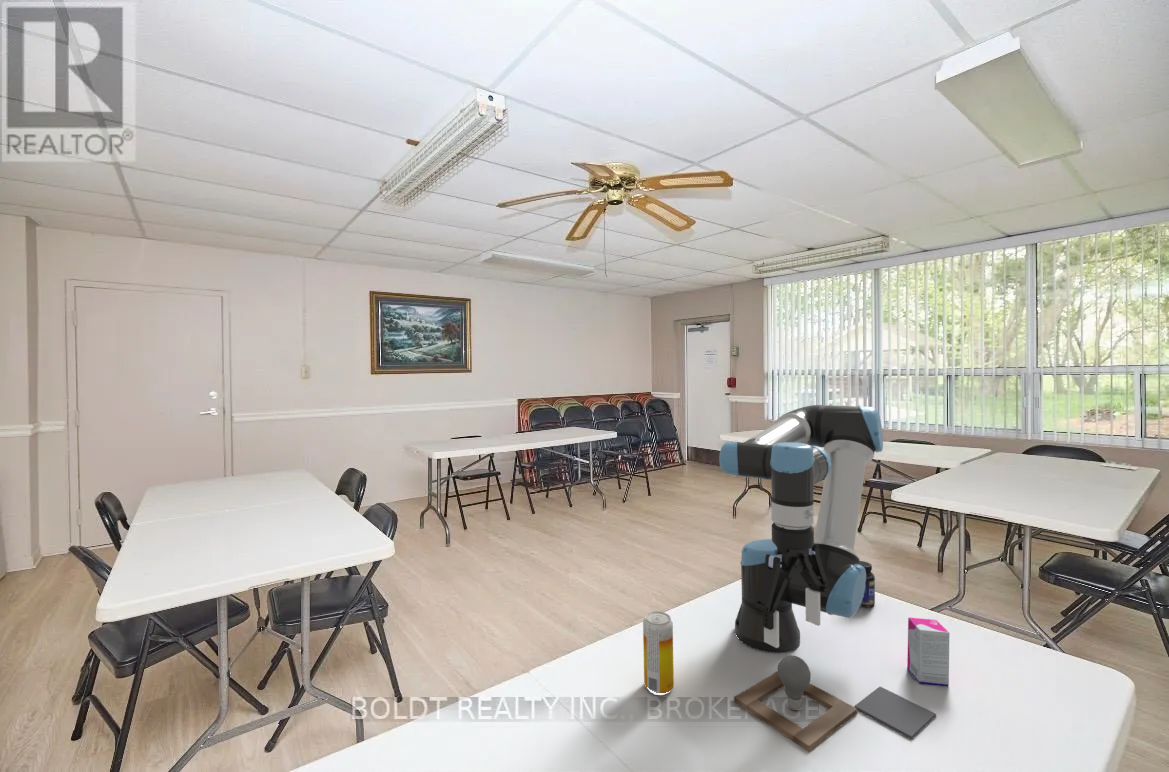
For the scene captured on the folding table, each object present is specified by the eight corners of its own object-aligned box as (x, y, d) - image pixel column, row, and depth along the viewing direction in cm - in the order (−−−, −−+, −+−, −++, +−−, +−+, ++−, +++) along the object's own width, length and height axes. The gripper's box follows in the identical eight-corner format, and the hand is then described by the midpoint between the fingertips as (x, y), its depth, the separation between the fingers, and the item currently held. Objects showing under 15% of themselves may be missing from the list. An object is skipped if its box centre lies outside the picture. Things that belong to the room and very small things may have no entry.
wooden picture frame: (733, 701, 99) (733, 696, 99) (782, 672, 108) (782, 668, 108) (809, 751, 86) (809, 745, 86) (857, 713, 95) (857, 708, 95)
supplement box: (950, 687, 102) (950, 632, 102) (918, 684, 104) (918, 630, 103) (936, 670, 108) (936, 618, 108) (906, 668, 109) (906, 616, 109)
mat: (854, 708, 97) (854, 705, 97) (879, 689, 102) (879, 686, 102) (911, 739, 88) (911, 736, 88) (935, 716, 94) (935, 713, 94)
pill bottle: (874, 610, 135) (874, 569, 135) (848, 604, 138) (848, 565, 138) (875, 600, 140) (875, 562, 140) (851, 595, 144) (850, 558, 143)
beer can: (676, 683, 106) (675, 613, 105) (669, 700, 100) (668, 627, 100) (649, 676, 108) (648, 608, 108) (640, 693, 103) (639, 621, 102)
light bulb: (808, 722, 93) (808, 670, 93) (774, 711, 96) (774, 660, 96) (813, 703, 98) (812, 654, 98) (780, 694, 101) (780, 645, 101)
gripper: (769, 542, 86) (770, 664, 86) (846, 517, 100) (846, 621, 101) (734, 531, 92) (735, 645, 93) (810, 509, 106) (811, 607, 107)
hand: (793, 633), depth 97 cm, fingers open, 13 cm apart
